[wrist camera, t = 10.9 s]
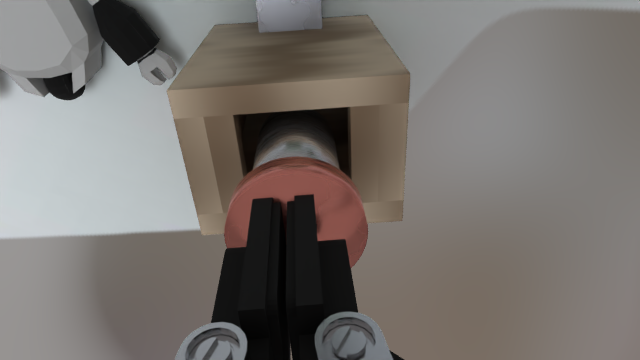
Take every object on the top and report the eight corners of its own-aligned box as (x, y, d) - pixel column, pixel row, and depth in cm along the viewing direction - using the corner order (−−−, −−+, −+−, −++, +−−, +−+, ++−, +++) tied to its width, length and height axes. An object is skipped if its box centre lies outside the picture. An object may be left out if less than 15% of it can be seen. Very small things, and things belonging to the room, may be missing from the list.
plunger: (345, 90, 16) (367, 169, 11) (347, 181, 18) (368, 283, 13) (238, 97, 16) (212, 180, 11) (252, 187, 18) (235, 293, 13)
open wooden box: (367, 14, 23) (410, 73, 14) (367, 120, 26) (402, 220, 18) (214, 24, 23) (166, 90, 14) (232, 130, 26) (202, 235, 17)
